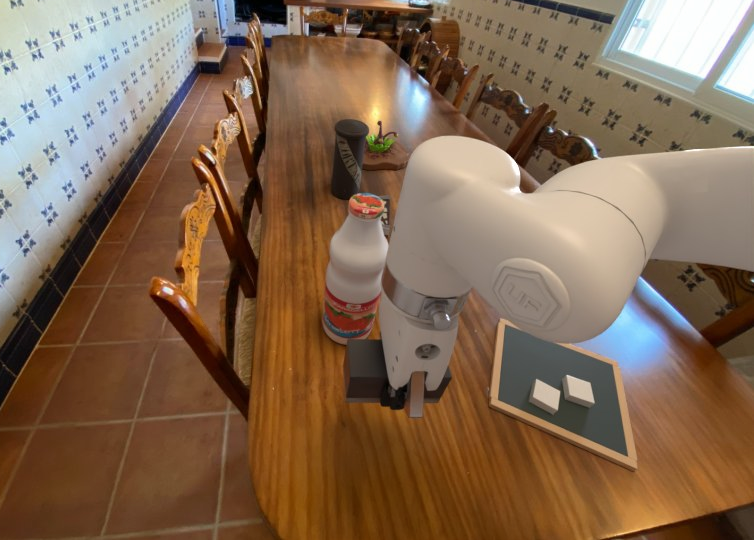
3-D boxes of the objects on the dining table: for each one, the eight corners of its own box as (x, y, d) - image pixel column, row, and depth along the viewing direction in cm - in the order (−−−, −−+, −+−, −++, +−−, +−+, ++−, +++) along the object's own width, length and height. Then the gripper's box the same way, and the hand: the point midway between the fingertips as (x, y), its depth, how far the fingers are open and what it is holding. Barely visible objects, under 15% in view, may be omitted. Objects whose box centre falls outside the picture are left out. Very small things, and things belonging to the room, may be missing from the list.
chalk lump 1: (555, 395, 57) (560, 391, 56) (552, 415, 55) (557, 410, 54) (532, 383, 59) (536, 378, 58) (528, 401, 56) (532, 396, 55)
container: (333, 201, 97) (339, 131, 84) (326, 183, 103) (331, 116, 91) (363, 199, 98) (374, 130, 86) (355, 181, 105) (364, 115, 92)
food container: (359, 224, 90) (364, 191, 83) (384, 227, 89) (391, 194, 83) (355, 258, 80) (360, 223, 74) (382, 262, 80) (390, 227, 73)
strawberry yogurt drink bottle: (373, 308, 70) (401, 188, 52) (370, 351, 63) (401, 228, 45) (325, 300, 70) (337, 179, 52) (317, 342, 63) (327, 218, 45)
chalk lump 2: (585, 387, 59) (590, 382, 58) (589, 408, 56) (595, 403, 55) (561, 379, 60) (566, 374, 59) (564, 399, 57) (569, 394, 56)
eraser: (428, 366, 45) (441, 339, 42) (438, 403, 42) (452, 377, 38) (342, 366, 45) (347, 338, 41) (345, 403, 41) (350, 376, 37)
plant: (398, 142, 127) (404, 111, 120) (414, 170, 112) (423, 137, 105) (343, 141, 124) (346, 110, 117) (352, 170, 110) (356, 137, 102)
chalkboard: (615, 364, 64) (619, 361, 63) (635, 472, 51) (639, 470, 50) (497, 320, 70) (499, 317, 69) (487, 406, 56) (489, 403, 56)
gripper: (505, 369, 25) (438, 461, 37) (441, 220, 38) (406, 323, 50) (400, 368, 25) (366, 461, 36) (371, 218, 38) (353, 322, 49)
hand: (390, 380), depth 43 cm, fingers closed on eraser, 4 cm apart
